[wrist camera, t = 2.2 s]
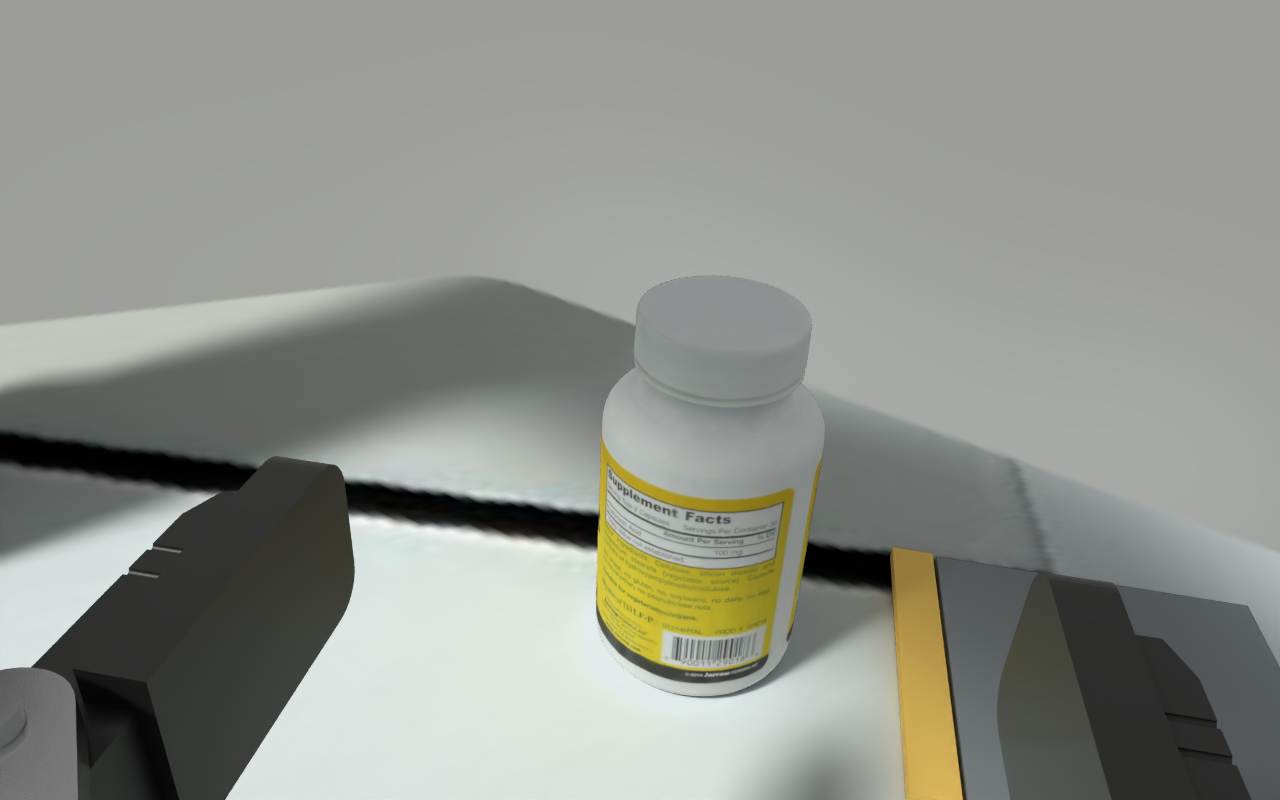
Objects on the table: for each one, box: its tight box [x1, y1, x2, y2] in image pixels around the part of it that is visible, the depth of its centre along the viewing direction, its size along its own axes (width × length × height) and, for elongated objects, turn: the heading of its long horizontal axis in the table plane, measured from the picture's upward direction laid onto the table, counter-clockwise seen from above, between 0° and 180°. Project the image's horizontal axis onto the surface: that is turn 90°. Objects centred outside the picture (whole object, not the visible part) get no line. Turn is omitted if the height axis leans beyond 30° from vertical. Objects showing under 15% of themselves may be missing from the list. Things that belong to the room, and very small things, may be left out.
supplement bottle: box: [596, 276, 825, 696], centre depth 25 cm, size 5×5×10 cm
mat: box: [890, 547, 1280, 800], centre depth 26 cm, size 10×9×1 cm
